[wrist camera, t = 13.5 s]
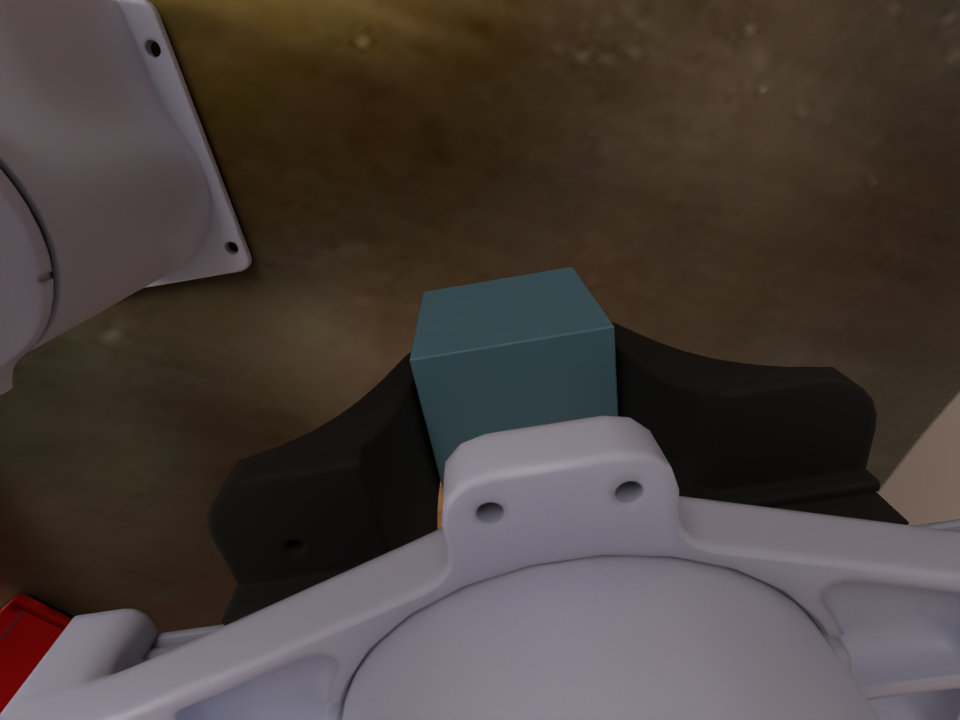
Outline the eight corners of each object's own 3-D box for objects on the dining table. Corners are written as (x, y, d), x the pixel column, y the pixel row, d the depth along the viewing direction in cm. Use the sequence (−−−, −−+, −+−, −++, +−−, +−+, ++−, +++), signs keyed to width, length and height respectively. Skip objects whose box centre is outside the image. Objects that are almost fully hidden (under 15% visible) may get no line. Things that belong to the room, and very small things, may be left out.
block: (422, 291, 14) (409, 360, 11) (572, 265, 14) (614, 326, 10) (451, 415, 16) (448, 512, 13) (582, 395, 16) (621, 486, 12)
